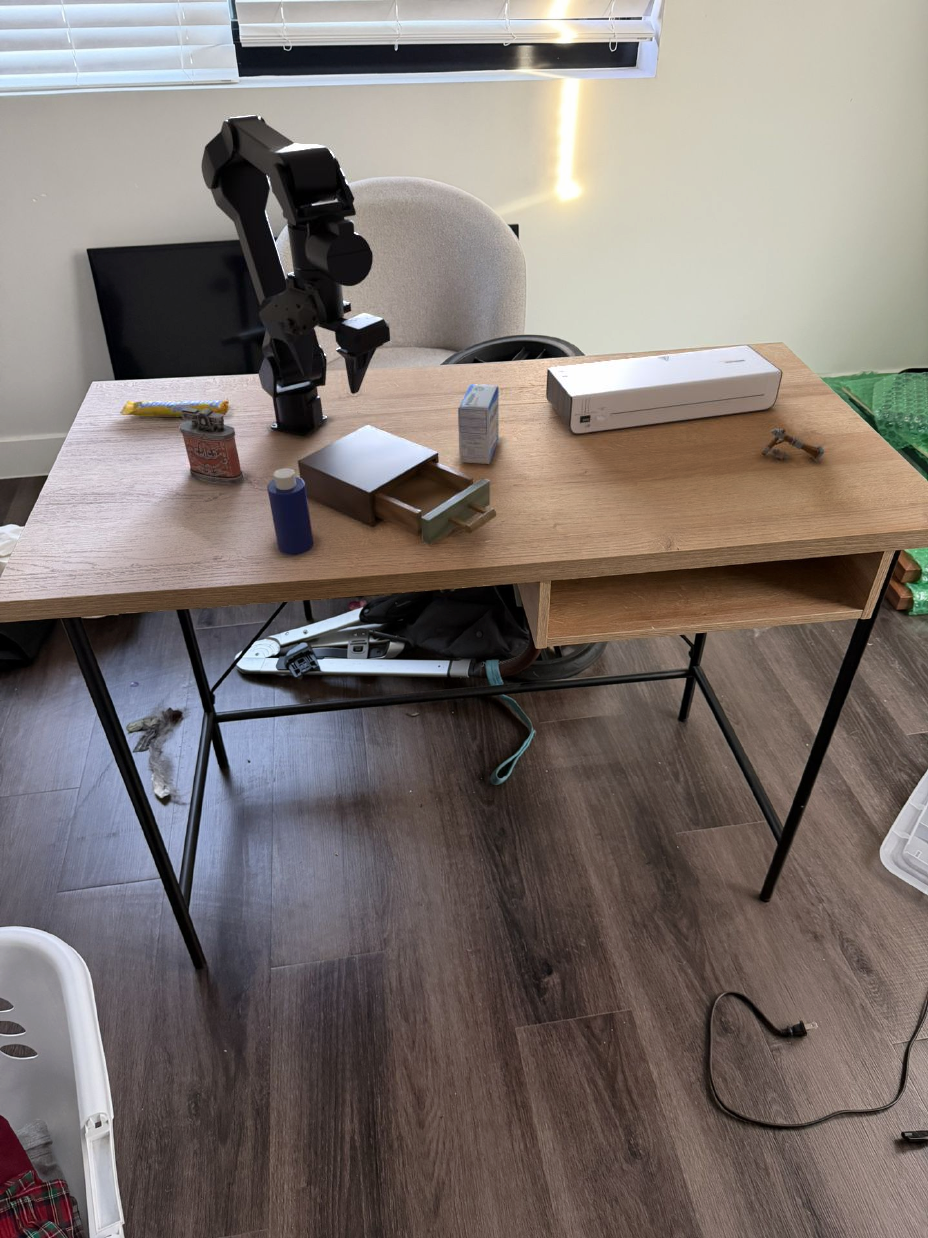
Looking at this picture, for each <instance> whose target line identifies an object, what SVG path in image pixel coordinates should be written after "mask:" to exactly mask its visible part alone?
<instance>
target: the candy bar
mask: <svg viewBox="0 0 928 1238" xmlns="http://www.w3.org/2000/svg"><path fill="white" fill-rule="evenodd" d="M229 403H230V400H229V398H228V397H226V399H224V400H192V401H191V400H190V401H165V400H164V401H160V400H159V401H157V400H155V401H153V400H152V401H151V400H150V401H148V400H145V401H144V400H143V401H135V402H134V401H131V400H127V402H126V403H125V404H124V406H123V408H122V409H121V410H120V411H119V413H120V414H121V415H123V416H135V417H154V418H182V415H181V410H182V409H183V408H185V407H186V408H193V409H198V410H200V411H203V410H204V409H206V408H209V409H211V410H212V411H213V412H214V413H220V414H223V417H224V416H226V415H227V413H228V411H229V410H230V408H229Z"/></svg>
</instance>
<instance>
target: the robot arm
mask: <svg viewBox="0 0 928 1238" xmlns="http://www.w3.org/2000/svg"><path fill="white" fill-rule="evenodd" d="M340 165H341V164H340V163H339V160H338V159H337V158H336V157H335V155H334V154H333V152H332V151H331V150H330V149H329V148H328V147H327V146H324V145H320V144H313V143H311V144H305V143H304V144H303V143H302V144H301V143H295V142H294V141H292V140H291V139H289V138H288V137H287V136H285V135H283V134H282V133H280V132H279V131H278V130H276V129H275V128H273V127H271V126H270V125H269V124H267V122H266V121H265V119H264V118H263V116H258V115H256V114H252V115H245V116H234V117H228V119H227V120H224V121H222V125H221V129H220V131H219V132H218V133H217V134H215V136H214V137H213V138H212V139H211V140H209V142H208V143H207V144H205V146H204V149H203V154H202V159H201V165H200V167H201V174H202V178H203V181H204V184H205V186H206V187H207V189H208V190H210V192H211V194H212V198H213V200H214V202H215V205H216V207H217V208H218V209H220V210H221V212H223V214H225V215H226V216H227V217H228V218H229V219H230V220H231V221H232V223H233V225H234V227H235V230H236V233H237V237H238V240H239V243H240V246H241V250H242V253H243V256H244V260H245V262H246V265H247V269H248V271H249V275H250V279H251V282H252V284H253V288H254V291H255V294H256V297H257V301H258V303H259V307H258V311H259V313H258V316H259V318H260V322H261V323H262V324H263V326H264V328H265V333H264V336H263V337H264V338H263V342H262V347H261V351H262V354H263V360H262V362H261V366H260V368H259V371H258V378H259V381H260V385H261V388H262V389H263V391H265V392H266V393H267V395H269V396H270V397H271V398H272V404H273V410H274V416H275V422H273V423H271V425H270V429H271V430H272V431H277V432H283V433H286V434H291V435H295V436H301V437H307V436H309V435H310V434H312V432H314V431H315V430H316V429H318V427H320V426H321V425H322V424H324V423H325V422H327V420H328V417H327V415H325V414H324V412H323V407H322V406H323V405H322V398H321V396H319V392H318V391H319V390H318V388H319V387H324V386H326V384H327V383H326V381H327V364H328V360H327V359H328V358H327V355H326V354H325V352H324V348H322V347H321V345H320V343H319V339H318V335H317V333H316V329H315V328H316V327H318V328H321V329H324V330H327V331H331V332H333V333H334V336H335V337H334V338H335V342H336V343H337V345H338V346H339V348H336V349H335V350H336V352H337V353H338V354H339V355H340V356H341V357H342V358H343V359H344V364H345V369H346V370H345V371H346V376H347V382H348V386H349V391H350V394H352V395H355V394H357V393H359V392H360V389H361V386H362V384H363V381H364V378H365V376H366V373H367V370H368V368H369V366H370V363H371V360H372V359H373V357H374V355H375V353H376V351H377V349H378V348H380V347H383V346H384V344H386V343H389V342H390V341H391V331H390V329H391V328H390V323H389V322H388V321H387V320H385V319H384V318H383V317H379V316H375V315H372V314H369V313H365V312H364V313H361V314H358V315H356V316H354V317H351V318H345V314H348V313H350V312H352V305H351V304H352V303H351V302H347V301H345V300H344V293H343V286H344V287H354V286H357V285H359V284H360V283H362V282H363V281H364V280H366V278H367V277H368V276H369V274H370V272H371V270H372V266H373V262H374V261H373V260H374V255H373V251H372V248H371V247H370V244H369V243H368V241H367V239H365V238H364V237H363V236H362V235H361V234H358V233H357V232H355V223H354V221H353V220H351V219H348V217H355V216H356V215H357V212H356V209H355V205H354V201H355V196H354V195H353V192H352V190H351V188H350V185H349V183H348V181H347V178H346V176H345V174H344V172H343V170H342V168H341V166H340ZM270 192H272V194H273V195H274V196H275V199H276V200H277V202H278V204H279V206H280V208H281V210H282V217H283V218H284V219H285V220H286V221H287V222H286V223H287V233H288V240H289V248H290V256H291V263H292V269H293V272H290V273H287V274H285V270H284V268H283V264H282V260H281V257H280V253H279V251H278V248H277V244H276V241H275V238H274V235H273V231H272V228H271V225H270V221H269V218H268V215H267V210H266V208H267V204H268V200H269V197H270Z"/></svg>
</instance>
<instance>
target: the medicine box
mask: <svg viewBox="0 0 928 1238" xmlns="http://www.w3.org/2000/svg"><path fill="white" fill-rule="evenodd" d="M499 390H500V389H499V386H498V385H492V384H479V383H478V384H477V383H476V384H475V383H474V384H469V385H468V387H467V390H466V392H465V394H464V396H463V398H462V400H461V402H460V404H459V406H458V408H457V421H458V422H457V424H458V426H457V427H458V449H459V451H458V454H459V462H460V463H466V464H479V465H480V464H481V465H489V464H491V460H492V458H493V455H494V452H495V450H496V447H497V445H498V442H499V431H500V430H499V419H500V418H499V409H500V408H499V407H500V406H499V404H500V403H499V402H500V400H499V399H500V398H499V397H500V392H499Z"/></svg>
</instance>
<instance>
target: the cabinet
mask: <svg viewBox="0 0 928 1238" xmlns="http://www.w3.org/2000/svg"><path fill="white" fill-rule="evenodd" d="M429 461H433V462H435V463H438V464H440V463H439V461H440V459H439V452H438V451H436V450H433V449H430V448H428V447H426V446H424V445H420V444H418V443H416V442H413V441H410V440H407V439H406V438H402V437H400V436H397V435H396V434H395V435H394V434H392V433H390V432H388V431H387V432H386V431H384V430H382V429H380V428H377V427H374V426H372V425H369V424H366V425H363V426H362V427H360V428H359V429H356V430H355V431H352V432H351V433H349V434H347V435H345V436H343V437H341V438H339V439H337V440H335V441H334V442H333V441H332V442H331V443H329V444H327V445H326V446H324V447H322V448H320V449H317V450H316V451H314V452H312V453H310V454H308V455H306V456H304V457H303V458H300V459H298V460H297V466H298V473H299V478H301V479H302V480H303V481H304V483H305V489H306V496H307V499H308V498H309V499H310V500H313V501H315V502H316V503H319V504H321V505H324V506H325V507H327V508H330V509H332V510H334V511H336V512H338V513H340V514H343V515H345V516H347V517H349V518H351V519H353V520H355V521H358V522H360V523H362V524H364V525H366V526H368V527H370V528H371V529H373V528H375V527H376V526H378V525H380V524H382V523H383V522H384V521H385V520H383V519H381V518H378V517H376V516H375V513H374V502H373V494H375V493H377V492H378V491H380V490H382V489H383V488H385V487H387V486H389V485H390V484H392V483H394V482H395V481H397V480H399V479H400V478H402V477H404V476H406V475H407V474H409V473H411V472H412V471H414V470H416V469H417V468H419V467H421V466H422V465H424V464H426V463H428V462H429Z"/></svg>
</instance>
